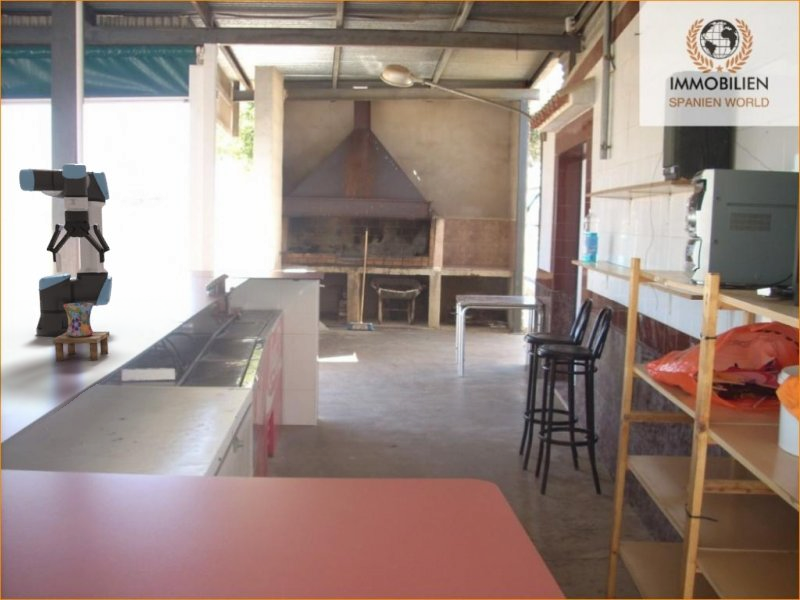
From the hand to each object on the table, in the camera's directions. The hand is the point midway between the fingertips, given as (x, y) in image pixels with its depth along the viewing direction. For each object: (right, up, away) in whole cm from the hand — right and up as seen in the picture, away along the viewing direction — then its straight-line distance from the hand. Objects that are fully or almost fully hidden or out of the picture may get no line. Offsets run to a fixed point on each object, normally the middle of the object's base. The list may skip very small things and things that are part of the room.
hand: (79, 272), depth 262 cm
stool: (+3, -29, -5) cm, 29 cm away
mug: (+2, -22, -5) cm, 23 cm away
